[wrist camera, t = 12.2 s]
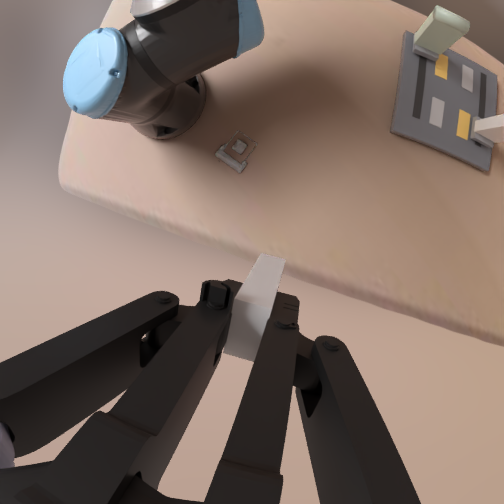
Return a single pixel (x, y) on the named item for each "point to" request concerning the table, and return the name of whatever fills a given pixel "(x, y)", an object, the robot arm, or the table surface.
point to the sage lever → (439, 33)
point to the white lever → (488, 130)
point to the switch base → (444, 103)
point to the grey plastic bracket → (239, 148)
